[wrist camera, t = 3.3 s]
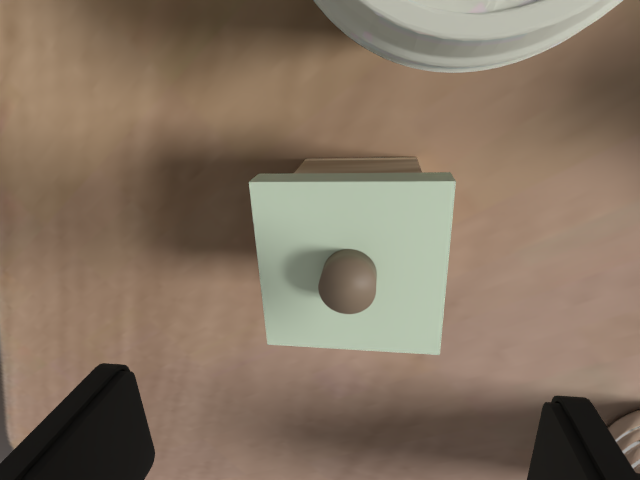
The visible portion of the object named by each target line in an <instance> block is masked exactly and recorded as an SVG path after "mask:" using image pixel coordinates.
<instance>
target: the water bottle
mask: <svg viewBox="0 0 640 480" xmlns="http://www.w3.org/2000/svg"><path fill="white" fill-rule="evenodd" d="M608 430H609V431H610V433H611V434H612V436H613V438H614V439H615V441H616V442H617V444H618V445H619V447H620V449H621V450H622V452H623V453H624V455H625V456H626V458H627V460H628V461H629V463H630V464H631V466H632V467H633V469H634V471H635V472H636V473H640V410H638V411H635V412H632V413H630V414H628V415H625V416H623V417H622V418H620V419H618V420H617V421H615V422H614V423H613V424H612V425H611V426H610V427H609V428H608Z"/></svg>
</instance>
